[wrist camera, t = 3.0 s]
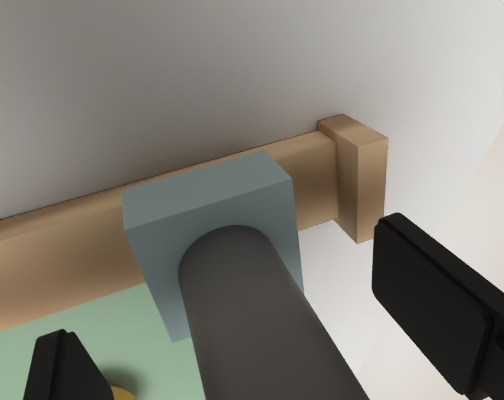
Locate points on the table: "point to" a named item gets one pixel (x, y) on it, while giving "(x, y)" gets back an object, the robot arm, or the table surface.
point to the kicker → (235, 281)
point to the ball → (121, 394)
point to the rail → (110, 201)
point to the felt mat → (111, 348)
